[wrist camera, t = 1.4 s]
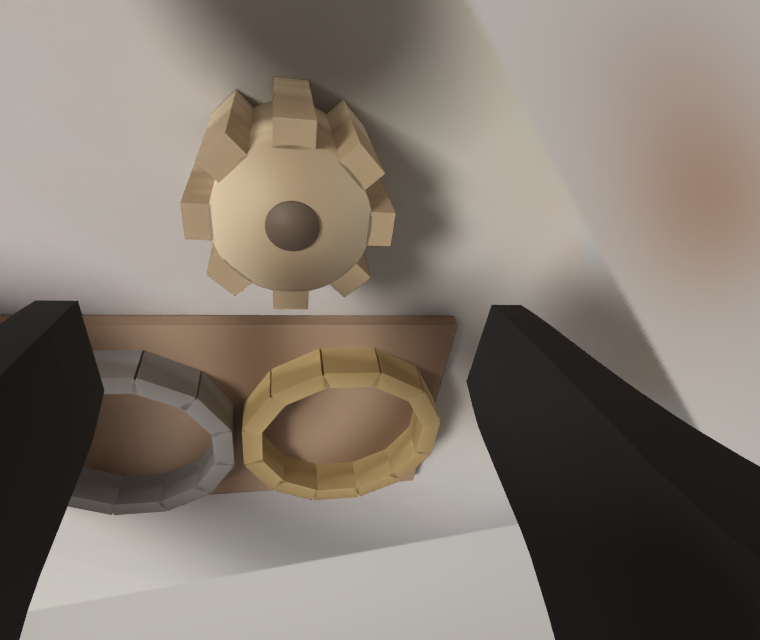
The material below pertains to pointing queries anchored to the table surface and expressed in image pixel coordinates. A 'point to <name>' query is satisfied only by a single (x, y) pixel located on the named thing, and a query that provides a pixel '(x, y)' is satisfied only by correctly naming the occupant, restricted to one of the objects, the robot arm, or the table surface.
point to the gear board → (240, 371)
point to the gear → (287, 196)
